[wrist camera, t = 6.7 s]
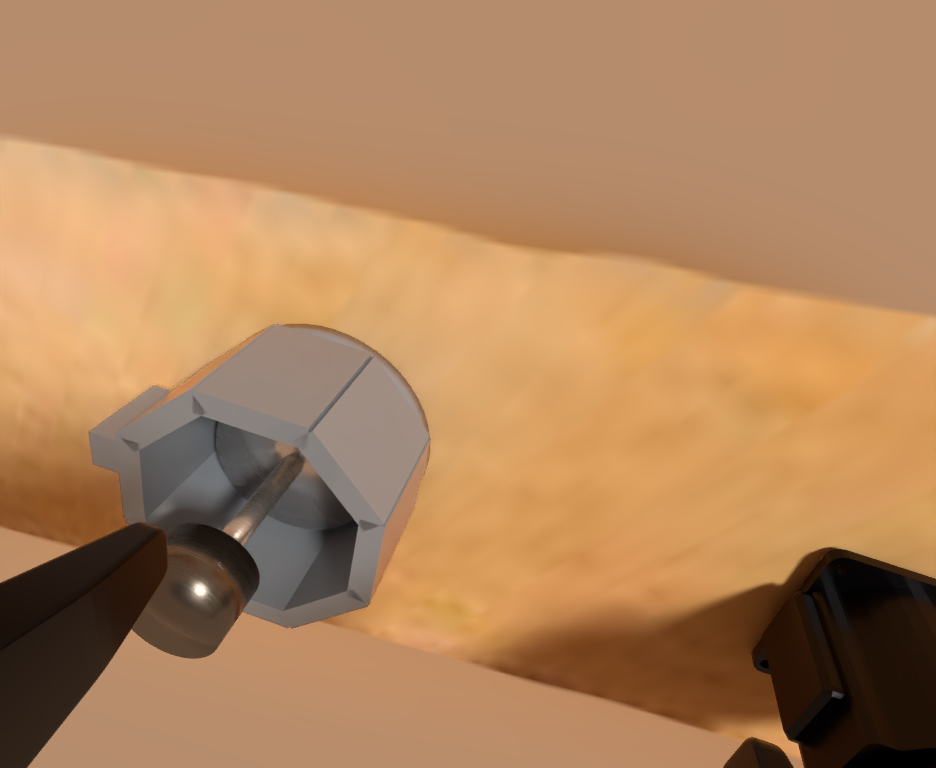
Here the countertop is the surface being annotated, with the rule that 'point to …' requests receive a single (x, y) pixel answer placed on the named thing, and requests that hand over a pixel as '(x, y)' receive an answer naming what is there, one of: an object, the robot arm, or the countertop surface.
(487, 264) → the countertop surface
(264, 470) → the plunger
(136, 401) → the press pot
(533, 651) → the countertop surface
